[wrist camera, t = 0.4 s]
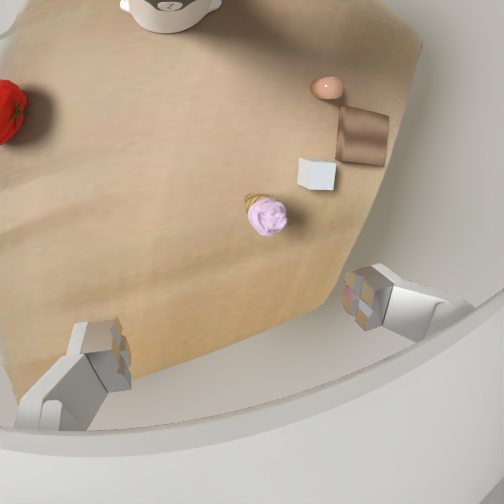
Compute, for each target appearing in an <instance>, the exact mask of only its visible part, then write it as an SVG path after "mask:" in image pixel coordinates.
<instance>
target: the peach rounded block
mask: <svg viewBox="0 0 504 504" xmlns="http://www.w3.org/2000/svg"><path fill="white" fill-rule="evenodd" d="M311 92H312V94H313V95H314V96H315V97H316V98H317V99H337V98H339V97H340V96H341V95H342V93H343V85H342V82H341V81H340V80H339V79H338V78H336V77H333V76H331V77H325V78H320V79H316V80H314V81H313V82H312V84H311Z"/></svg>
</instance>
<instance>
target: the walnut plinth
mask: <svg viewBox="0 0 504 504" xmlns="http://www.w3.org/2000/svg"><path fill="white" fill-rule="evenodd" d="M388 121H389V116H386V115H383V114H379V113H375V112H371V111H367V110H363V109H358V108H354V107H349V106H340V110H339V123H338V135H337V146H336V156H335V159H336V160H340V161H344V162H355V163H364V164H373V165H381V166H384V159H385V151H386V142H387V132H388Z"/></svg>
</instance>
